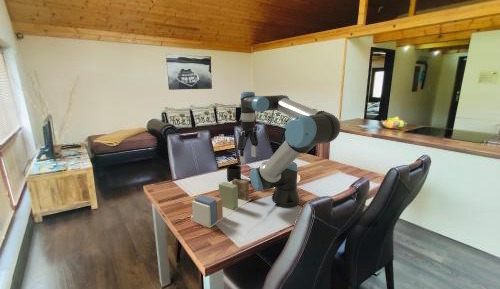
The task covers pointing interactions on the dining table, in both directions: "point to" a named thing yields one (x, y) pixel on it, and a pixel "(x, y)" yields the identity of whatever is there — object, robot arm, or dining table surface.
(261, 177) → the robot arm
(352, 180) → the dining table surface
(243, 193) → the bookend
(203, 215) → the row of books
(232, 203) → the book olive
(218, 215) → the book rust
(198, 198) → the book navy
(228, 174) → the mug
